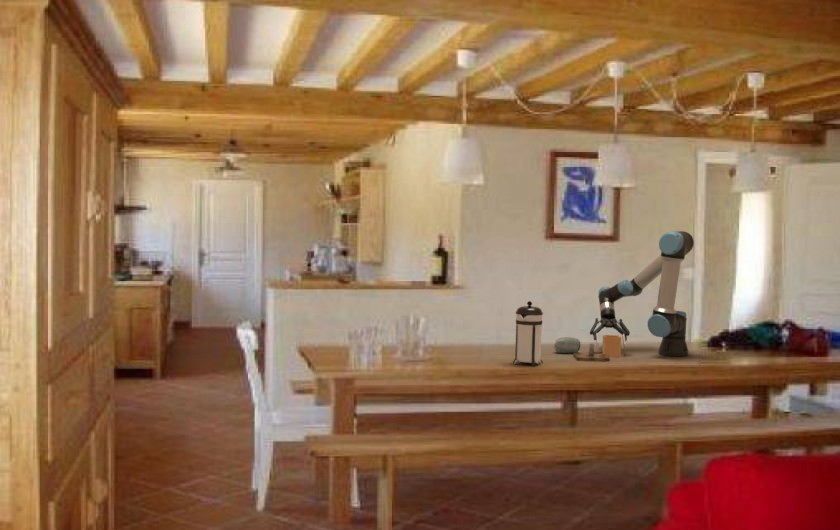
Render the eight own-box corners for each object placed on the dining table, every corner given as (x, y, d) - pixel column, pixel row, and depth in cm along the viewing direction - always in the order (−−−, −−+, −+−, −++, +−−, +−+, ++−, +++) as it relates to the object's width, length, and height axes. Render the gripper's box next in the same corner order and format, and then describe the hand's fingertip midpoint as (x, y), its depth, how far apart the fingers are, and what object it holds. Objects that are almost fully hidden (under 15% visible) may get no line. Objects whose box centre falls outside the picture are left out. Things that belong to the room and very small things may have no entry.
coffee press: (550, 366, 421) (552, 302, 420) (517, 366, 418) (519, 302, 416) (538, 360, 438) (539, 299, 437) (506, 360, 435) (508, 299, 433)
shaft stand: (605, 357, 454) (605, 342, 454) (609, 361, 440) (610, 346, 440) (573, 356, 455) (573, 341, 455) (577, 360, 441) (577, 345, 441)
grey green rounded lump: (577, 345, 472) (576, 330, 467) (583, 355, 464) (582, 340, 459) (552, 351, 471) (551, 335, 466) (558, 361, 463) (556, 346, 458)
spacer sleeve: (617, 354, 464) (618, 335, 463) (620, 357, 456) (621, 337, 455) (602, 354, 464) (602, 334, 464) (604, 356, 456) (605, 337, 456)
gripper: (630, 317, 475) (634, 350, 461) (582, 316, 476) (585, 348, 462) (632, 308, 470) (636, 341, 455) (584, 307, 471) (587, 339, 457)
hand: (611, 345), depth 459 cm, fingers open, 13 cm apart
